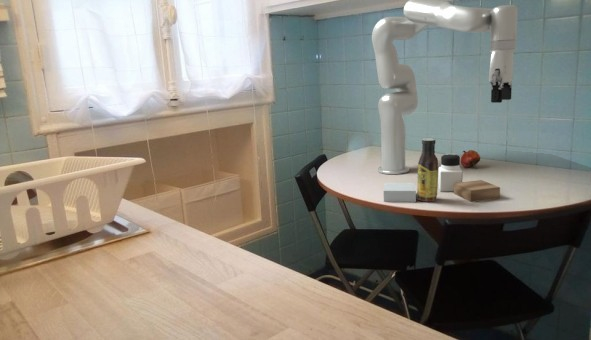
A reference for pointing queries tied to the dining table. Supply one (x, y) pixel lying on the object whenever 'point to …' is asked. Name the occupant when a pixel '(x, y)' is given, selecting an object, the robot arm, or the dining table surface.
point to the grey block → (399, 192)
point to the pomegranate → (470, 158)
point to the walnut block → (476, 190)
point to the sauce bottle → (427, 172)
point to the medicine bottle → (449, 172)
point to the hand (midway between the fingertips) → (501, 101)
